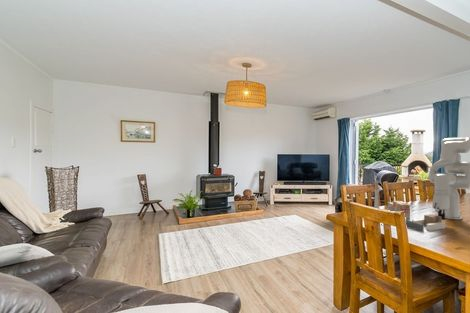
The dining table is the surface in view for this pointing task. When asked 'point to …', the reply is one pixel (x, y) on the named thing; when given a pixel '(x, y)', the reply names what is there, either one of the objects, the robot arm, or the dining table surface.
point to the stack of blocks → (400, 208)
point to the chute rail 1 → (419, 221)
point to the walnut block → (432, 219)
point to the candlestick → (376, 195)
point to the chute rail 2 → (435, 226)
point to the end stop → (415, 225)
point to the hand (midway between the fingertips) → (441, 219)
